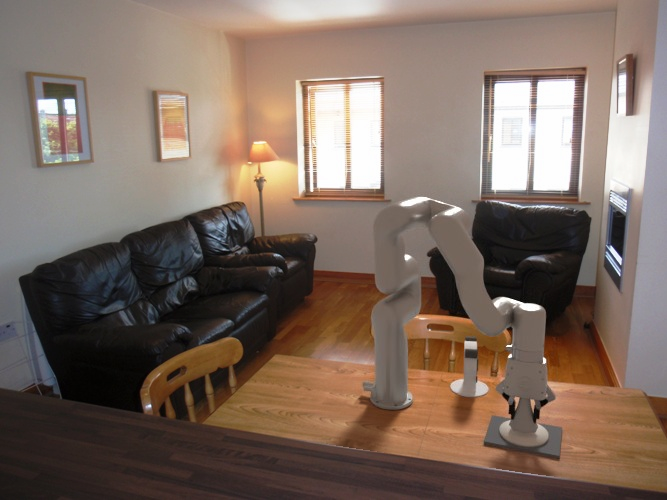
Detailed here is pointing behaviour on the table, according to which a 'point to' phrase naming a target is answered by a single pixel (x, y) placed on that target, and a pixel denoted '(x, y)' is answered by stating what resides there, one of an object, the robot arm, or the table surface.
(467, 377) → the white upright piece
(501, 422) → the saucer mat
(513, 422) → the flask
